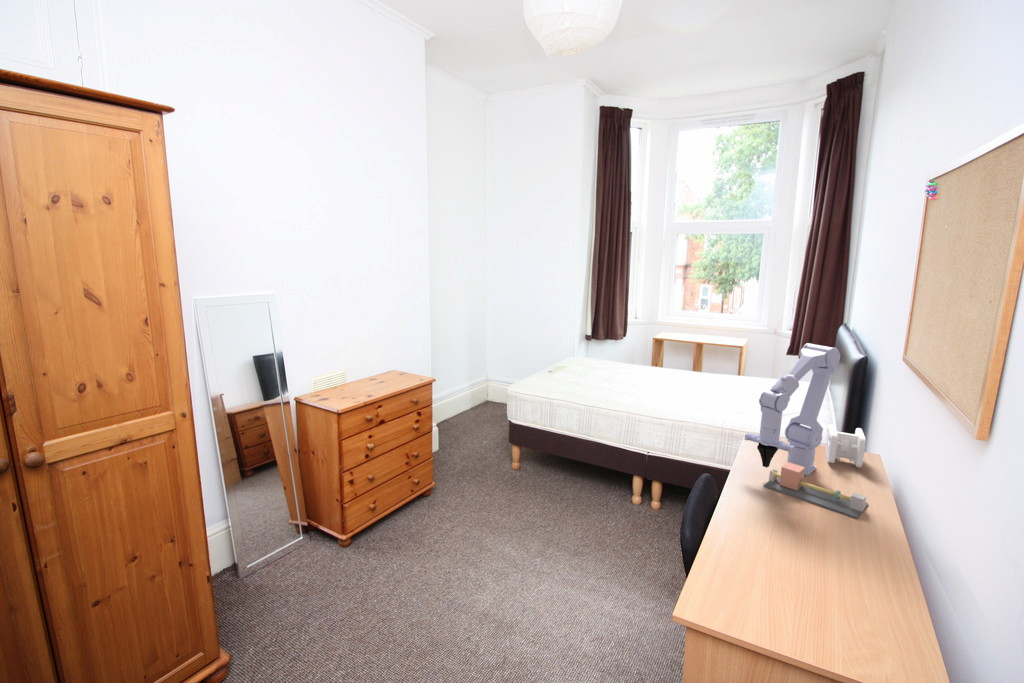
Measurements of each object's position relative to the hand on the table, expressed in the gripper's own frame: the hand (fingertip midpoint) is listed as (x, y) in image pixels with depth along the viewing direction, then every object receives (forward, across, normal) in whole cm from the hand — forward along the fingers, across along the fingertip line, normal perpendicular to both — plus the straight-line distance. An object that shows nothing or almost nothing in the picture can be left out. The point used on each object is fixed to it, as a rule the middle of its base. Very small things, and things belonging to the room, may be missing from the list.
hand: (765, 466), depth 154 cm
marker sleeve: (+4, +8, 0) cm, 9 cm away
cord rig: (+4, +14, 0) cm, 15 cm away
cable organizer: (+5, +13, +37) cm, 39 cm away
